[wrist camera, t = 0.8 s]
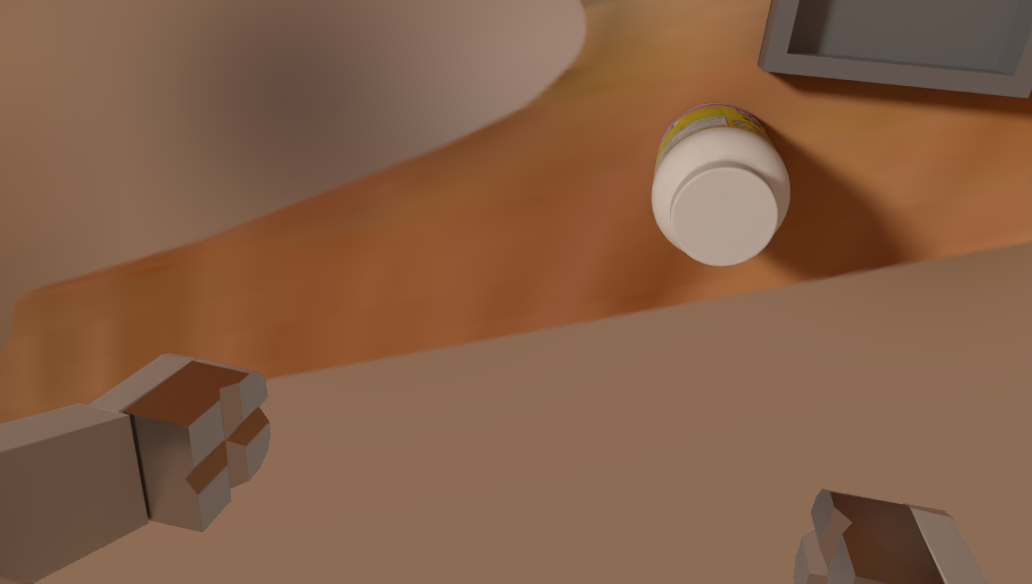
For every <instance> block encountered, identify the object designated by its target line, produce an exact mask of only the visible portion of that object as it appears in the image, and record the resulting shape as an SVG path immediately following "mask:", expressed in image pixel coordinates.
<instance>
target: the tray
mask: <svg viewBox="0 0 1032 584" xmlns="http://www.w3.org/2000/svg"><path fill="white" fill-rule="evenodd" d="M758 66H759V67H760V68H761V70H762V71H766V72H776V73H785V74H795V75H805V76H815V77H825V78H834V79H844V80H854V81H864V82H873V83H883V84H893V85H903V86H912V87H922V88H932V89H942V90H951V91H961V92H971V93H981V94H990V95H1000V96H1010V97H1020V98H1028V97H1029V95H1030V92H1031V90H1032V0H772V1H771V5H770V10H769V14H768V19H767V24H766V28H765V33H764V37H763V42H762V46H761V51H760V56H759V60H758Z"/></svg>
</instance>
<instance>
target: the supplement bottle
mask: <svg viewBox="0 0 1032 584" xmlns="http://www.w3.org/2000/svg"><path fill="white" fill-rule="evenodd" d="M789 202H790V181H789V176H788V172H787V169H786V167H785V165H784V163H783V160H782V159H781V157H780V155H779V154H778V152H777V150H776V149H775V147H774V145H773V143H772V141H771V139H770V138H769V136H768V135H767V133H766V131H765V130H764V128H763V127H762V125H761V124H760V123H759V122H758V120H757V119H756V118H755V117H753V116H752V115H751V114H750V113H748V112H747V111H745V110H743V109H741V108H739V107H737V106H734V105H730V104H725V103H709V104H704V105H700V106H697V107H695V108H692V109H690V110H688V111H687V112H685V113H683V114H682V115H680V116H679V117H678V118H677V119H676V120H675V121H674V122H673V123H672V124H671V125H670V126H669V128H668V129H667V130H666V132H665V134H664V136H663V137H662V140H661V142H660V145H659V149H658V153H657V159H656V167H655V174H654V181H653V187H652V207H653V213H654V216H655V219H656V222H657V224H658V226H659V228H660V229H661V231H662V232H663V234H664V235H665V237H666V238H667V239H668V240H669V241H670V242H671V243H672V244H673V245H675V246H676V247H677V248H679V249H680V250H682V251H684V252H685V253H686V254H688V255H689V256H690V257H692V258H693V259H695V260H697V261H699V262H701V263H704V264H708V265H712V266H731V265H736V264H740V263H742V262H745V261H747V260H749V259H751V258H753V257H754V256H756V255H757V254H758V253H760V252H761V251H762V250H763V249H764V248H765V247H766V246H767V244H768V243H769V242H770V240H771V239H772V237H773V235H774V234H775V232H776V231H777V230H778V228H779V227H780V225H781V224H782V222H783V220H784V218H785V216H786V213H787V210H788V206H789Z"/></svg>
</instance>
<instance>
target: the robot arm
mask: <svg viewBox="0 0 1032 584" xmlns="http://www.w3.org/2000/svg"><path fill="white" fill-rule="evenodd" d="M266 398H267V388H266V380H265V378H264V377H263V376H262V375H261V374H260V373H259V372H256V371H252V370H247V369H243V368H239V367H234V366H230V365H226V364H221V363H217V362H213V361H208V360H204V359H198V358H194V357H190V356H185V355H180V354H175V353H171V354H163V355H161V356H160V357H158V358H157V359H155V360H154V361H152V362H151V363H149V364H148V365H146V366H145V367H144V368H142V369H141V370H139V371H138V372H136V373H135V374H133V375H132V376H130V377H129V378H127V379H126V380H124V381H123V382H121V383H120V384H118V385H117V386H116V387H114V388H113V389H111V390H110V391H108V392H107V393H105V394H104V395H102V396H101V397H99V398H98V399H96V400H95V401H93V402H92V403H90V404H89V405H83V404H79V403H78V404H74V405H71V406H67V407H63V408H59V409H56V410H52V411H48V412H44V413H41V414H37V415H33V416H29V417H26V418H22V419H18V420H15V421H11V422H7V423H3V424H0V584H33V583H35V582H37V581H39V580H41V579H43V578H45V577H46V576H48V575H50V574H52V573H54V572H56V571H58V570H60V569H62V568H64V567H66V566H67V565H70V564H71V563H73V562H75V561H77V560H79V559H81V558H83V557H85V556H87V555H88V554H91V553H92V552H94V551H96V550H98V549H100V548H102V547H104V546H106V545H108V544H110V543H112V542H114V541H116V540H117V539H119V538H121V537H123V536H125V535H127V534H129V533H131V532H133V531H135V530H137V529H138V528H140V527H142V526H144V525H146V524H148V523H149V522H148V520H150V521H154V522H160V523H164V524H168V525H173V526H177V527H182V528H187V529H191V530H196V531H200V532H203V531H204V530H205V529H206V528H207V527H208V526H209V525H210V524H211V523H212V521H213V520H214V519H215V518H216V517H217V516H218V515H219V514H220V513H221V511H222V510H223V509H224V508H225V507H226V506H227V505H228V504H229V503H230V501H231V488H233V487H235V486H238V485H240V484H242V483H245V482H247V481H249V480H250V479H251V478H252V476H253V475H254V474H255V473H256V472H257V470H259V468H260V467H261V464H262V462H263V460H264V458H265V455H266V453H267V451H268V446H269V440H270V423H269V420H268V419H267V417H266V416H265V415H264V413H263V412H262V410H261V409H260V406H261V405H262V403H263V402H264V401H265V400H266ZM811 515H812V519H813V523H814V527H815V530H813V531H812V532H810V533H809V534H807V535H806V536H804V537H802V539H801V542H800V545H799V549H798V552H797V555H796V561H795V569H794V577H793V578H794V584H988V582H987V580H986V579H985V577H984V575H983V573H982V571H981V569H980V567H979V565H978V564H977V562H976V560H975V558H974V556H973V554H972V552H971V551H970V549H969V547H968V545H967V543H966V542H965V539H964V538H963V536H962V534H961V532H960V530H959V529H958V526H957V525H956V523H955V521H954V519H953V518H952V516H951V515H949V514H948V513H947V512H945V511H943V510H937V509H931V508H926V507H920V506H914V505H909V504H898V503H893V502H887V501H882V500H877V499H872V498H867V497H862V496H856V495H852V494H847V493H841V492H836V491H831V490H826V489H822V490H821V491H820V492H819V494H818V495H817V497H816V499H815V502H814V504H813V507H812V510H811Z"/></svg>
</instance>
